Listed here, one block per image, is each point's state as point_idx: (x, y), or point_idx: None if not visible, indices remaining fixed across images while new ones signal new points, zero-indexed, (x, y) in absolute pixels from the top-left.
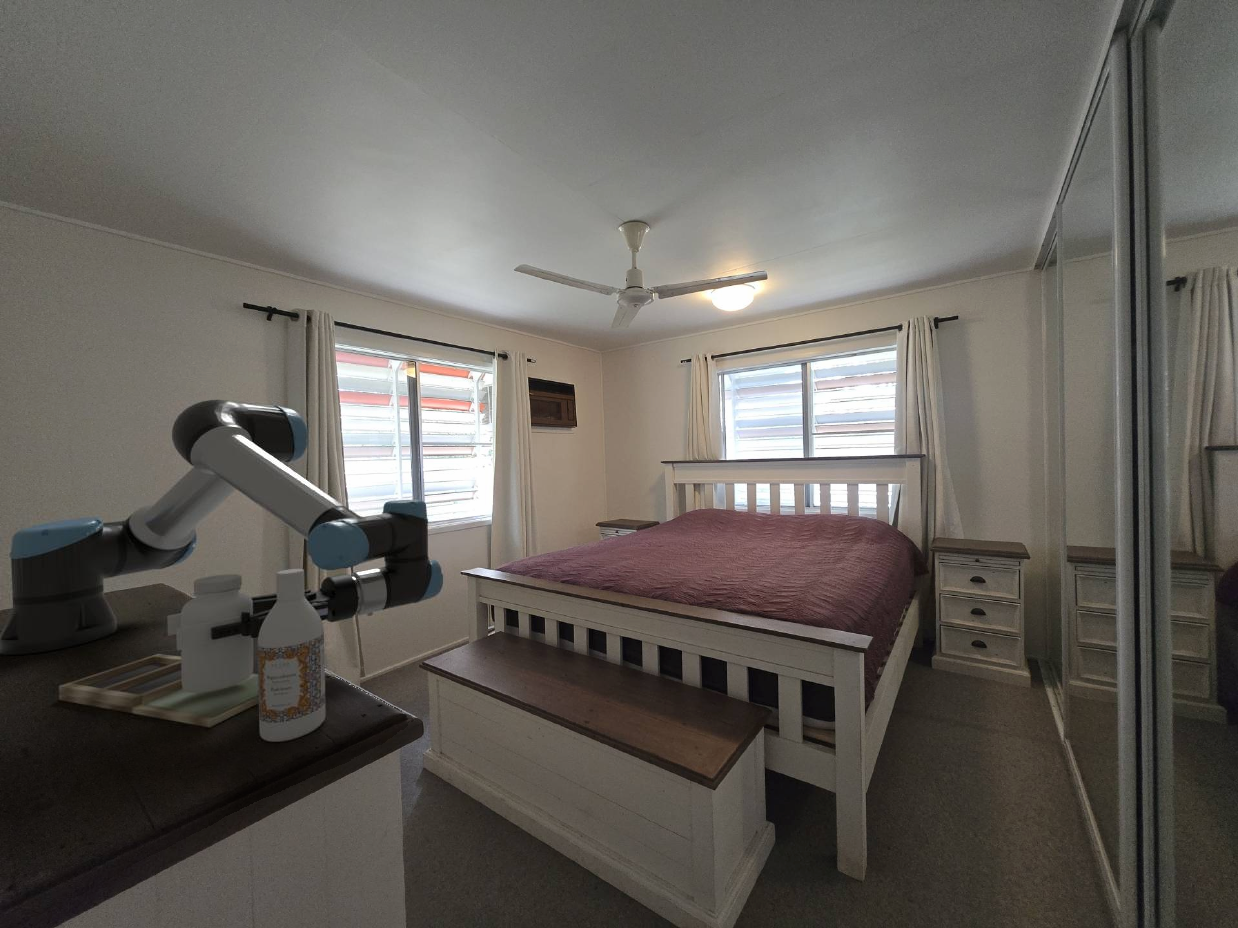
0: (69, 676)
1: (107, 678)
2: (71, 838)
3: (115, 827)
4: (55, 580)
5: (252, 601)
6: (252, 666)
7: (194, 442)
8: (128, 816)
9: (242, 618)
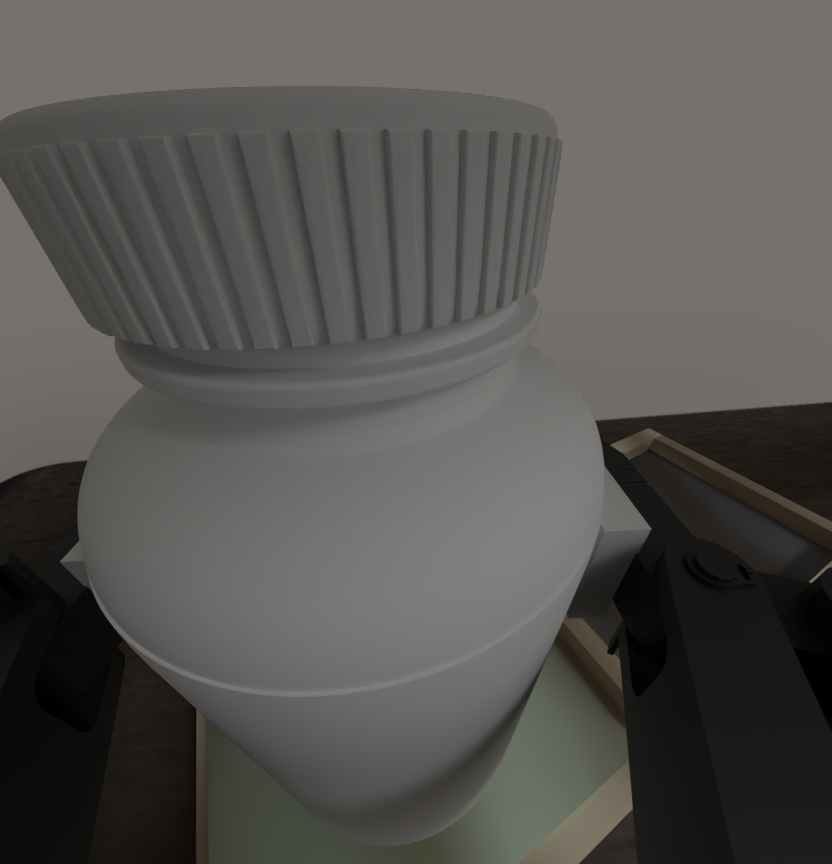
0: (792, 450)
1: (709, 483)
2: (79, 488)
3: (30, 517)
4: None
5: (803, 844)
6: (329, 827)
7: None
8: (34, 528)
9: (2, 577)
